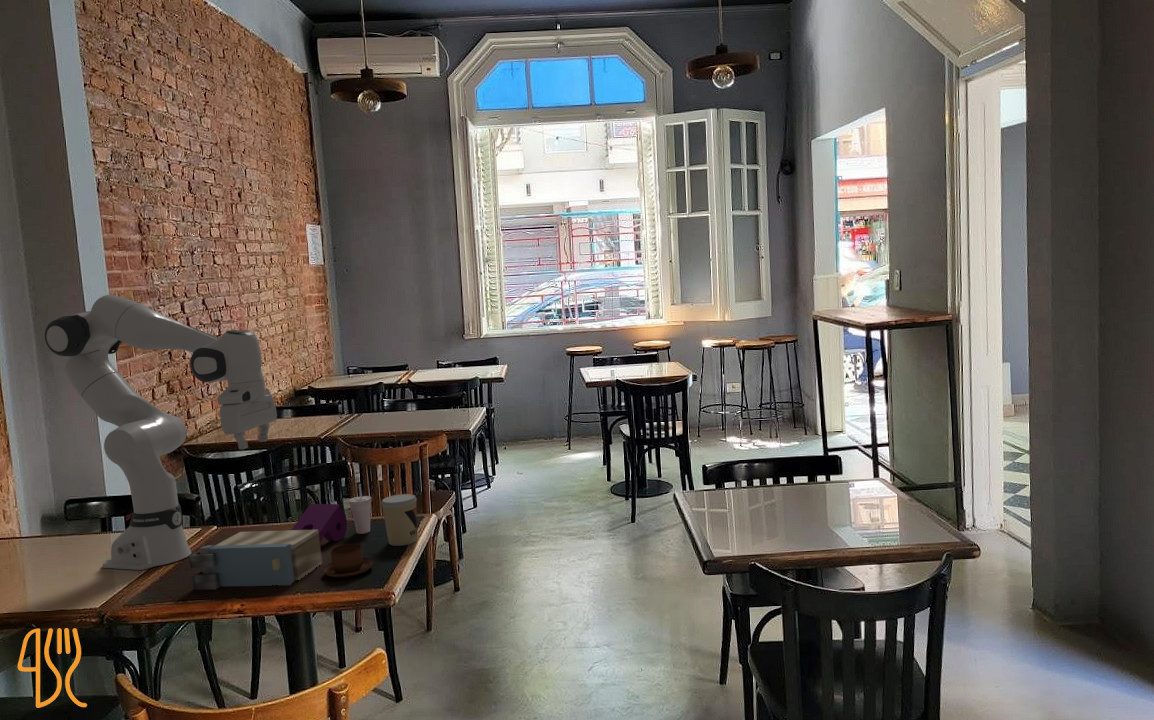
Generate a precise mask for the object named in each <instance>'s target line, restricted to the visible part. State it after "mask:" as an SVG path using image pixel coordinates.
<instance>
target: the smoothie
mask: <svg viewBox="0 0 1154 720" xmlns="http://www.w3.org/2000/svg"><path fill="white" fill-rule="evenodd" d="M358 490H359V496H355V497H352V498H350V499H349V500H348V505H349V506H350V510H351V514H352V518H353V522H354V526H355V530H356V534H359V535H362V534H367V533H371V507H372V505H371V502H372V496H369V495H363V493H362V484H361V483H359V484H358Z"/></svg>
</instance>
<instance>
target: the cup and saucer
mask: <svg viewBox="0 0 1154 720" xmlns="http://www.w3.org/2000/svg"><path fill="white" fill-rule="evenodd" d="M362 547H363V546H362V545H361V544H358V543H348V544H343V545H342V544H341V545H338V546H335V547H333V548H331V550H330V556H331V562H330V563H328V564H326V565H324V566H323V568H322V572H323V574H325V575H326V576H327V577H330V578H331V577H332V578H348V577H354V576H358V575H361V574H363V573H365V572H368V571H369V570H370V568H371V567H372V566H373V564H374V561H373V559H372V558H369V557H363V548H362Z"/></svg>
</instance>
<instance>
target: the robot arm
mask: <svg viewBox="0 0 1154 720" xmlns="http://www.w3.org/2000/svg"><path fill="white" fill-rule="evenodd" d="M44 339H45V340H44V341H45V344H46V346H47V347H48V348H49V350H50V351H51V352H52V353H53V354H54V355H57V356H60V357H68V358H67V359H66V361H65V363H64V372H65V374H66V376H67V379H68V380H69V382H70V383H71V385H72V386H73V388H74V389H75V390H76V392H77V394H78V395H79V396H80V397H81V398H82V399H83V400H84V402H85V403H86V404H87V405H88V407H90V409H91V410H92V411H93V412H94V414H96V416H97V417H98V418H99V419H100V420H102V421H103V422H106V423H109V424H112V425H115V426H116V428H115V429H113V430H112V431H110V432H109V433H108V434H107V435H106V437H105V439H104V443H103V449H104V453H105V455H106V457H107V458H108V460H110V461H111V462H112V463H113V464H116V465H117V466H118V467H119V468H120V469H121V471H122V472H123V473H124V476H125V478H126V479H127V482H128V484H129V489H130V494H131V499H132V500H131V501H132V507H133V511H132V512H131V513H130V514H128V515H126V516H125V521H129V520H130V522H129V526H128V527H127V528H126V529H125V530H124V531H123V532H122V533H120V534H119V536H118V537H117V538H116V539H115V540H114V541H113V542H112V543H111V548H110V557H109V558H108V559H106V560H104V562H103V563H102V568H103V569H104V568H105V569H116V570H118V569H119V570H132V571H134V570H135V571H143V570H147V569H150V568H153V567H158V566H159V567H160V566H163V565H167V564H173V563H175V562H178V561H181V560H183V559H185V558H187V557H189V555H191V554H192V550H191V548H190V546H189V543H188V541H187V539H186V538H187V537H186V534H185V531H184V528H183V513H182V507H181V504H180V503H179V499H178V491H177V484H176V478H175V476H174V475H173V474H172V473H171V472H168V471H167V470H166V469H165V467H164V465H163V462H162V461H161V456H163V455H167V454H170V453H172V452H173V451H175V450H176V449H178V448H179V447H180V446H182V445H183V444H184V442H185V441H186V439H187V435H188V432H187V431H188V430H187V426H186V423H185V422H184V421H183V420H182V419H181V418H180V417H178V416H175V415H173V414H169V413H167V412H165V411H163V410H161V409H160V408H158V407H156V406H155V405H154V404H152V403H151V402H149V401H148V400H147V399H145V398H144V397H142V396H141V395H140V394H139V393H138V392H137V391H136V390H135V389H134V388H133V387H132V385H131V384H129V383H128V381H127V380H126V379H125V378H124V376H122V374H121V373H120V372H119V370H117V369H116V368H115V366H114V365H112V363H111V361H110V359H109V355H112V354H115V353H116V352H118V351H119V347H120V346H121V344H125V345H128V346H129V347H133V348H136V349H141V350H146V351H151V350H152V351H153V350H154V351H155V350H156V351H157V350H181V351H182V350H183V351H186V352H189V353H192V354H191V356H190V359H189V360H190V361H189V367H190V368H189V369H190V371H191V373H192V374H193V376H194V377H195V379H196V380H198V381H199V382H203V383H215V382H221V381H226V383H227V388H225V390H223V392H222V393H220V394H219V395H218V397H217V404H218V405H220V408H219V416H220V425H221V429H222V431H223V433H224V434H225V435H233V438H234V439H235V441H236V442H237V445H238V449H239V450H245V449H248V448H249V445H248V440H246V439H245V437H244V436H245V435H246V434H245V432H247V431H249V430H252V429H255V428H259V430H260V431H259V435H258V441H259V442H260V443H263V442H264V443H265V442H267V441H268V440H269V438H268V437H269V435H268V433H269V429H270V423H273V422H275V421H277V417H278V413H277V407H276V404H275V398H274V397H273V395H272V394H271V391H270V390H269V389H268V388H266V384H265V377H264V374H263V371H262V365H263V360H262V352H261V347H260V343H259V340H258V337H257V335H256V334H255V333H254V332H252V331H251V330H245V329H231V330H227V331H225V332H224V333H223V334H222V335H221V336H220V337H217V336H215V335H212V334H209V333H208V332H205V331H202V330H201V329H197V328H195V327H192V326H191V325H190V326H189V325H187V324H184V323H182V322H179V320H175V319H173V318H170V316H169V317H168V316H167V315H165V314H162V313H160V312H158V311H156V310H154V309H152V308H150V307H147V306H146V305H144V304H143V303H142V304H141V303H139V302H137V301H135V300H132V299H130V298H126V297H124V296H121V295H115V294H106V295H102V296H100V297H99V298H97V300H96V301H94V303H93V305H92V307H91V308H90V310H87V311H81V312H79V313H74V314H71V315H64V316H60V317H58V318H56V319H54V320H52V321H50V322H49V323H48V324H47V325H46V327H45V330H44Z"/></svg>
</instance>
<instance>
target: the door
mask: <svg viewBox="0 0 1154 720" xmlns="http://www.w3.org/2000/svg"><path fill="white" fill-rule="evenodd" d="M198 549H199V550H200V554H212V553H215V554H216V561H217V565H216V566H214V567H202V568H201V570H202V573H203V574H214V573H218V577H219V585H220V587H257V586H258V587H264V586H266V587H267V586H269V587H270V586H271V587H272V585H274V586H275V585H278V586H291V585H293V584H294V583H295V582H296V581H295V579H294V571H293V562H292V554H291V546H290V544H261V545H224V546H215V545H212V544H210V545H203V546H200V547H199V548H198ZM199 550H198V551H199ZM294 581H295V582H294ZM293 582H294V583H293ZM292 583H293V584H292ZM274 586H273V587H274Z"/></svg>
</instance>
